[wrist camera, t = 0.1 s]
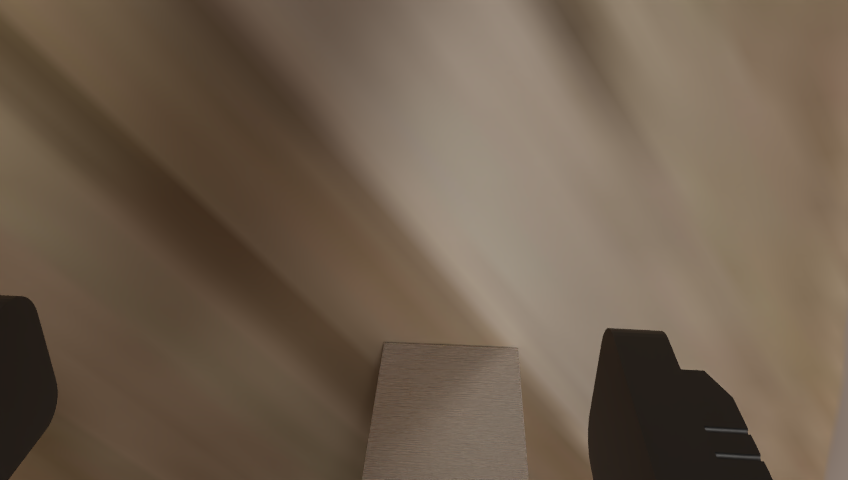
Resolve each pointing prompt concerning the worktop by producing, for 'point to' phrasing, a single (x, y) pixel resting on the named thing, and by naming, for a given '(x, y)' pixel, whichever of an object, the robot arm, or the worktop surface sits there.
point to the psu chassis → (447, 415)
